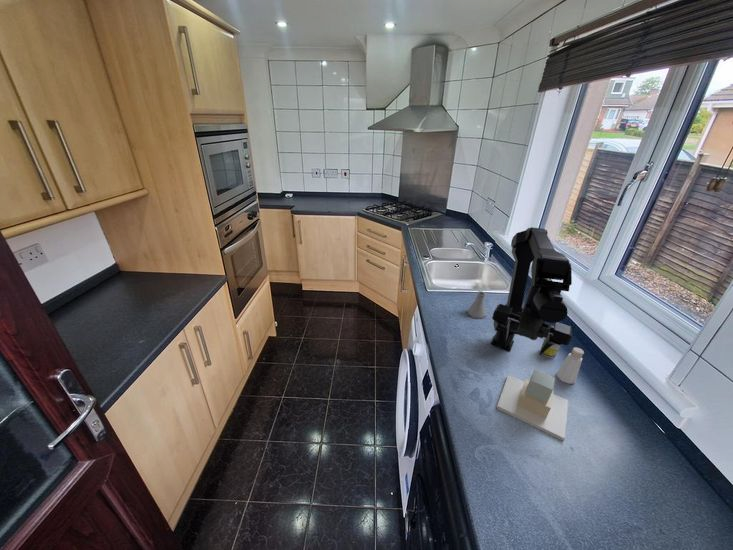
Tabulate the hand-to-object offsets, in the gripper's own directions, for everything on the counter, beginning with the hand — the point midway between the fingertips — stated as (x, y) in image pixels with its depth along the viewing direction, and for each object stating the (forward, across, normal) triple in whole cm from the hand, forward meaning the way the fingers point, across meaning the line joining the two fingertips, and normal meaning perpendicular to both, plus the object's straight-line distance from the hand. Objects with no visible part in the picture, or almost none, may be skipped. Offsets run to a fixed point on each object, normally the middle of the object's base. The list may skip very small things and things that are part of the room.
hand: (522, 347), depth 85 cm
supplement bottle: (+13, +8, +21) cm, 26 cm away
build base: (+13, +7, -6) cm, 16 cm away
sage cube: (+8, +7, -6) cm, 12 cm away
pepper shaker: (+13, +14, +12) cm, 23 cm away
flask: (+13, -19, +30) cm, 38 cm away
